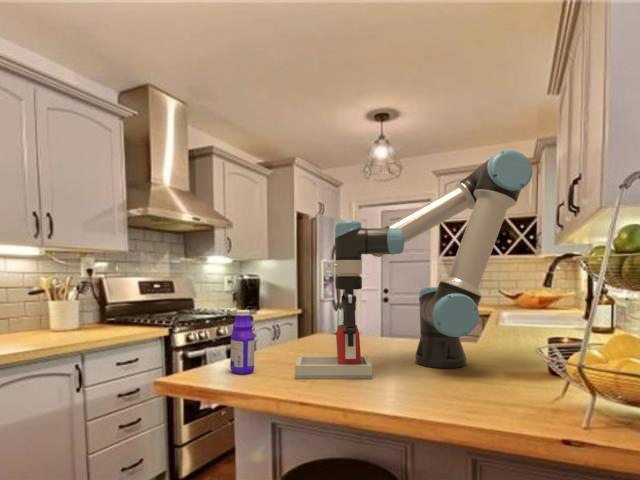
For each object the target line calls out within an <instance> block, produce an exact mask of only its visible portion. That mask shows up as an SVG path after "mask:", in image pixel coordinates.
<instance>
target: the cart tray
mask: <svg viewBox="0 0 640 480" xmlns="http://www.w3.org/2000/svg"><path fill="white" fill-rule="evenodd" d="M294 369H295V371H294V372H295V373H294V376H295V377H294V379H295V380H373V365H372V362H371V360H370V358H369V357H368V355H361V365H338V359H337V355H319V356H318V355H310V356H309V355H303V356H302V355H299V356H298V357H297V360H296V363H295V367H294Z"/></svg>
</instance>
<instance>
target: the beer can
mask: <svg viewBox="0 0 640 480" xmlns="http://www.w3.org/2000/svg"><path fill="white" fill-rule="evenodd" d="M355 325H356V333H355V336H356V359H346V356H345V334H343V331H346V325H344V324H340V325H337V329H336V333H335V337H336V338H335V339H336V356H337V359H338V365H361V356H362V355H361V343H360V342H361V341H360V340H361V339H360V331H359V329H358V325H357V324H355Z"/></svg>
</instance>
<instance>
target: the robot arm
mask: <svg viewBox="0 0 640 480" xmlns="http://www.w3.org/2000/svg"><path fill="white" fill-rule="evenodd" d="M532 178H533V166H532V163H530V160H529V159H528V157H527V156H526V155H524V154H523V153H522V152H520V151H516V150H515V149H514V150H513V149H505V150H501V151H499V152H497V153H494V154H493V155H492V156H490V158H489V159H487V160H486V161H485V162H484V163H482V164H481V165H479V166H478V167H477V168H475V170H473V172H471V173H470V174H469V175H468V176H466V177H465V178H463V179H462V180H460V181H458V182H457V183H456V184H455V187H454V188H453V189H451V190H448V191H447V192H445V193H444V194H442V195H440V196H438V197H436V198H434V199H432V200H431V201H430V202H427V203H426V204H424V205H422V206H420V207H419V208H417V209H415V210H413V211H412V212H409V213H407V214H406V215H404V216H402V217H400V218H399V219H397V220H396V221H393V222H392V223H390V224H389V225H387V226H384V227H382V228H380V227H379V228H378V227H377V228H372V227H371V228H368V227H367V228H365V227H362V223H361V222H360V221H358V220H342V221H338V222H337V223H336V224H335V227H334V248H335V249H334V254H335V255H334V256H335V257H334V258H335V263H333V265H332V266H333V268H335V274H336V275H337V276H336V277H335V282H334V283H335V289H336V290H344V293H343V295H341V302H342V310H343V323H342V325H346V331H343V334H345V356H346V359H356V336H355V333H356V325H357V324H356V308H357V304H356V302H357V295H354V290H362V288H363V278H362V276H361V274H363V265H362V264H363V260H362V259H363V258H362V255H372V256H373V257H378V258H380V257H383V256H385V255H391V256H392V255H393V256H395V255H401V254H403V252H404V249H405V244H406V243H408V242H410V241H411V240H413V239H415V238H417V237H418V236H420V235H422V234H424V233H425V232H427V231H429V230H431V229H433V228H435V227H437V226H439V225H440V224H441V223H444V222H446V221H447V220H449V219H451V218H453V217H455V216H457V215H458V214H460V213H462V212H464V211H465V210H467V209H468V210H472V212H471V214H470V217H469V220H468V222H467V225H466V228H465V230H464V233H463V236H462V238H461V241H460V244H459V246H458V249H457V252H456V254H455V257H454V259H453V262H452V265H451V268H450V270H449V273H448V275H447V277H445V278H443V279H441V280H440V281H439V283H438V286H433V287H432V286H431V287H425V288H421V289H420V291H419V297H418V301H419V327H420V331H419V332H420V338H419V341H418V345H417V347H416V350H415V357H414V358H415V359H414V360H415V361H414V362H415V363H416V364H417V365H420V366H424V367H429V368H437V369H457V368H458V369H459V368H463V367H466V365H467V357H466V356H467V355H466V353H465V350H464V348H463V344H462V342H461V339H460V337H465V336H467V335H469V334H471V332H473V331H474V330H475V329H476V327H477V325H478V323H479V320H480V311H479V304H480V301H481V298H482V294H481V292H480V290H479V287H480V284H481V281H482V279H483V276H484V273H485V271H486V268H487V265H488V263H489V260H490V258H491V255H492V252H493V249H494V247H495V244H496V242H497V238H498V236H499V233H500V232H501V231H500V230H501V228H502V224H503V222H504V220H505V217H506V214H507V212H508V210H509V209H511V208H513V207H515V206H516V204H517V202H518V200H519V196H520V193H521V191H522V190H523V189H524V188H525V187H527V185H528V184H529V183H530V181H532Z"/></svg>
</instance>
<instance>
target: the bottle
mask: <svg viewBox="0 0 640 480" xmlns="http://www.w3.org/2000/svg"><path fill="white" fill-rule="evenodd" d="M253 327H254V325H253V323H252V319H251V310H249V309H247V310H246V309H238V310H236V311H235V320H234V323H233V325H232V329H233V331H231V332H232V333H231V335H230V357H229V358H230V359H229V360H230V361H229V362H230V363H229V364H230V371H231V372H232V373H235V374H239V375H248V374H251V373H253V372H254V369H255V346H256V345H255V339H256V338H255V337H256V336H255V333H254V331H253Z"/></svg>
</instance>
